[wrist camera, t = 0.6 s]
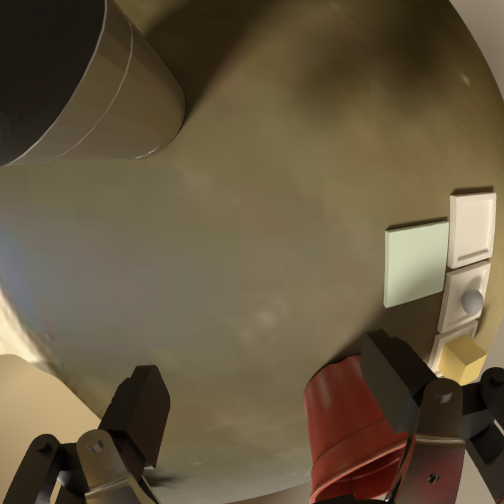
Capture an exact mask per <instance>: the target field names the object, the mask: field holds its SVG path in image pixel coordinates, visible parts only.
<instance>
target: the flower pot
mask: <svg viewBox="0 0 504 504" xmlns="http://www.w3.org/2000/svg"><path fill="white" fill-rule="evenodd" d="M360 359H361V355H354V356H349V357H346V358H345V359H344V360H343V361H341V362H339V363H336V364H330V365H328V366H326V367H325V368H323V369H322V370H321V371H319V372H318V373H317V374H316V375H315V376H314V377H313V378H312V380H311V381H310V382H309V384H308V385H307V387H306V389H305V392H304V404H305V411H306V417H307V425H308V432H309V439H310V446H311V454H312V462H313V467H312V470H311V478H312V487H313V492H312V493H311V495H310V500H309V502H310V504H312V503H315V502H318V501H322V500H326V499H331V498H334V497H338V496H342V495H345V494H349V493H352V492H353V494H354V497H355V499H375V498H377V497H379V496H382V495H384V494H387V493H388V491H389V489H390V487H391V485H392V482H393V480H394V478H395V475H396V472H397V469H398V466H399V463H400V460H401V457H402V454H403V451H404V448H405V445H406V441H407V438H408V436H409V435H408V434H407V432H406V431H404V432H401V433H399V434H395V433H394V431H393V429H392V427H391V425H390V424H389V422H388V420H387V418H386V417H385V415H384V413H383V411H382V410H381V408H380V406H379V404H378V403H377V401H376V399H375V397H374V396H373V394H372V392H371V391H370V389H369V387H368V385H367V384H366V382H365V380H364V379H363V376H362V373H361V369H360Z"/></svg>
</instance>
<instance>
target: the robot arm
mask: <svg viewBox="0 0 504 504" xmlns="http://www.w3.org/2000/svg"><path fill="white" fill-rule="evenodd" d="M185 106H186V103H185V97H184V93H183V91H182V88H181V86H180V85H179V83H178V82H177V81H176V79H175V78H174V76H173V75H172V74H171V72H170V71H169V69H168V68H167V67H166V65H165V64H164V63H163V61H162V60H161V59H160V57H159V56H158V55H157V53H156V52H155V51H154V49H153V48H152V47H151V46H150V44H149V43H148V42H147V40H146V39H145V38H144V37H143V35H142V34H141V33H140V31H139V30H138V29H137V28H136V26H135V25H134V24H133V23H132V21H131V20H130V19H129V18H128V16H127V15H126V14H125V13H124V12H123V11H122V9H121V8H120V7H119V6H118V4H117V3H116V2H115V1H114V0H0V167H4V166H13V165H21V164H31V163H42V162H56V161H74V160H109V159H119V160H133V159H142V158H146V157H149V156H152V155H154V154H156V153H158V152H159V151H161V150H162V149H164V148H165V147H166V146H167V145H168V144H169V143H170V142H171V141H172V140H173V139H174V137H175V136H176V135H177V133H178V131H179V129H180V127H181V125H182V123H183V119H184V116H185ZM360 369H361V373H362V376H363V379H364V380H365V382H366V384H367V385H368V387H369V389H370V391H371V392H372V394H373V396H374V397H375V399H376V401H377V403H378V404H379V406H380V408H381V410H382V411H383V413H384V415H385V417H386V418H387V420H388V422H389V424H390V425H391V427H392V429H393V431H394V433H395V434H399V433H401V432H404V431H406V432H407V434H408V435H409V436H408V438H407V441H406V445H405V448H404V451H403V454H402V457H401V460H400V463H399V466H398V469H397V472H396V475H395V478H394V480H393V482H392V485H391V487H390V489H389V491H388V493H387V495H386V497H385V500H384V501H383V500H377V499H355V497H354V494H353V492H352V493H349V494H345V495H342V496H338V497H334V498H331V499H326V500H322V501H318V502H315V503H312V504H455V501H456V497H457V493H458V489H459V484H460V479H461V473H462V468H463V461H464V454H465V449H466V450H467V452H468V454H469V455H470V457H471V459H472V460H473V462H474V464H475V466H476V467H477V469H478V471H479V472H480V474H481V476H482V478H483V480H484V482H485V483H486V485H487V487H488V489H489V491H490V493H491V495H492V497H493V498H494V500H495V502H496V504H504V436H503V434H502V433H501V432H500V430H499V429H498V427H497V426H496V425H495V423H494V420H495V419H496V421H497V422H498V423H499V425H500V426H501V427H502V428H503V430H504V369H503V368H499V367H493V368H489V369H487V370H486V371H485V372H484V373H483V374H482V376H481V380H480V382H477V383H472V384H468V385H463V386H460V384H459V383H457V382H456V381H454V380H452V379H448V378H438V377H437V376H436V375H435V373H434V372H433V371H432V370H431V369H430V368H429V367H428V366H427V365H426V363H425V362H424V361H423V360H422V359H421V358H420V357H418V355H417V354H416V353H415V352H414V351H413V349H412V348H411V347H410V346H409V345H408V344H407V343H406V342H405V341H402V340H400V339H398V338H396V337H393V338H390V337H389V336H388V335H387V333H386V332H385V331H384V330H383V329H381V328H380V329H377V330H373V331H370V332H366V333H363V335H362V342H361V359H360ZM169 409H170V396H169V393H168V390H167V388H166V386H165V384H164V381H163V379H162V377H161V374H160V372H159V369H158V368H157V366H156V365H142V366H136V368H135V370H134V372H133V374H132V376H131V378H126V379H125V380H124V381H123V382H122V383H121V384H120V385H119V386H118V388H117V390H116V392H115V394H114V396H113V398H112V400H111V404H109V406H108V408H107V410H106V412H105V414H104V416H103V419H102V421H101V423H100V425H99V427H98V429H95V430H91V431H88V432H86V433H84V434H83V435H82V436H81V437H80V438H79V439H78V441H77V443H65V444H61V443H60V442H59V441H58V440H57V439H56V437H55V436H53V435H51V434H42V435H40V436H38V437H36V438H35V439H34V440H33V441H32V443H31V444H30V446H29V448H28V450H27V452H26V454H25V456H24V458H23V460H22V462H21V464H20V466H19V468H18V470H17V472H16V474H15V476H14V478H13V481H12V483H11V485H10V487H9V490H8V492H7V494H6V497H5V499H4V501H3V504H50V497H51V494H52V491H53V489H54V486H55V483H56V481H57V482H58V483H60V484H61V488H60V490H59V493H58V496H57V499H56V502H55V504H161V502H160V501H159V499H158V498H157V496H156V495H155V493H154V492H153V490H152V489H151V487H150V486H149V484H148V483H147V481H146V479H145V478H144V477H143V475H142V474H143V470H144V469H154V470H155V467H156V463H157V458H158V454H159V450H160V446H161V441H162V437H163V433H164V429H165V425H166V421H167V417H168V413H169Z"/></svg>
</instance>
